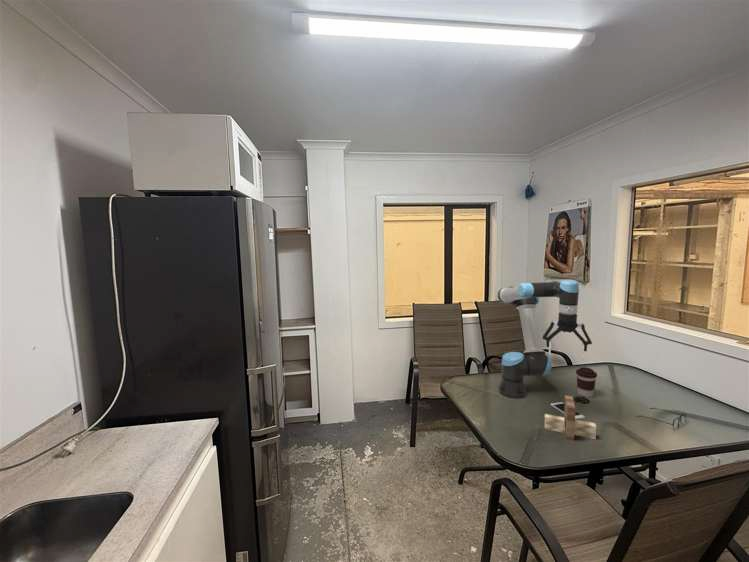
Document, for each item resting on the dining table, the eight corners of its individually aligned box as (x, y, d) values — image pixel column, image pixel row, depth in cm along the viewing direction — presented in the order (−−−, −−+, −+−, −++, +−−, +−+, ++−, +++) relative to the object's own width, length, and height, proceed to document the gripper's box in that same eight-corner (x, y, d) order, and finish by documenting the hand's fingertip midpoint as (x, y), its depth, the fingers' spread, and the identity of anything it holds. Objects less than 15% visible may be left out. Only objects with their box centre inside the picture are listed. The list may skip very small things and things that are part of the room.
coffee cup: (589, 390, 184) (590, 366, 182) (599, 398, 174) (601, 373, 173) (571, 390, 185) (572, 366, 183) (581, 398, 175) (582, 372, 174)
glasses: (674, 431, 144) (673, 421, 143) (635, 420, 157) (634, 410, 157) (687, 422, 150) (686, 412, 150) (648, 412, 163) (648, 402, 163)
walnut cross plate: (574, 440, 139) (575, 408, 138) (566, 438, 141) (567, 407, 139) (571, 426, 150) (572, 396, 148) (563, 424, 151) (565, 395, 150)
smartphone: (573, 420, 155) (573, 418, 155) (550, 405, 170) (550, 403, 170) (585, 418, 157) (585, 416, 157) (561, 403, 172) (561, 401, 172)
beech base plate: (544, 428, 148) (545, 417, 148) (544, 425, 151) (544, 413, 150) (595, 439, 139) (596, 426, 139) (594, 435, 142) (595, 423, 141)
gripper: (538, 312, 151) (536, 354, 155) (601, 317, 140) (597, 362, 143) (538, 309, 158) (536, 349, 161) (598, 313, 146) (595, 356, 150)
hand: (565, 355), depth 152 cm, fingers open, 13 cm apart
